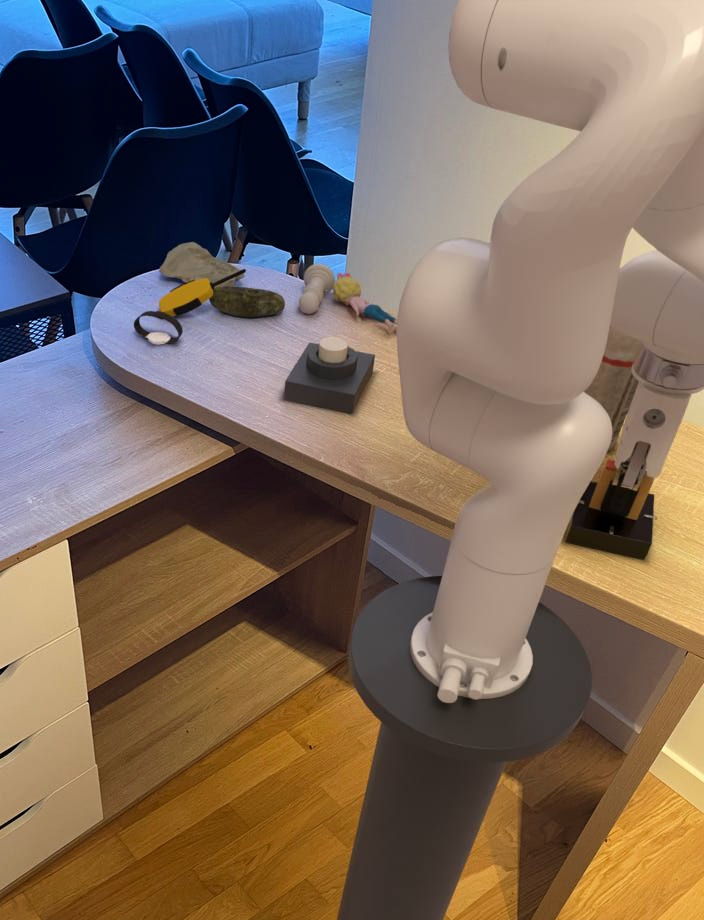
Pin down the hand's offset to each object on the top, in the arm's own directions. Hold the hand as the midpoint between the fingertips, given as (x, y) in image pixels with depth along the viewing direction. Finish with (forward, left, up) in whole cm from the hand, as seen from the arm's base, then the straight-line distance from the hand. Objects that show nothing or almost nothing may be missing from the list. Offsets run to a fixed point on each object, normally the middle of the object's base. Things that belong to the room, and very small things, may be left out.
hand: (615, 505), depth 106 cm
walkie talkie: (+30, +71, -3) cm, 78 cm away
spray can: (+19, +4, -3) cm, 20 cm away
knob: (0, 0, -1) cm, 1 cm away
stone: (+49, +68, -1) cm, 84 cm away
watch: (+24, +68, -1) cm, 72 cm away
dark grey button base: (+19, +40, -3) cm, 44 cm away
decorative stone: (+35, +58, +1) cm, 68 cm away
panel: (0, 0, -3) cm, 3 cm away
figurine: (+38, +34, -2) cm, 51 cm away
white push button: (+19, +40, +1) cm, 44 cm away
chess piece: (+48, +50, 0) cm, 69 cm away
